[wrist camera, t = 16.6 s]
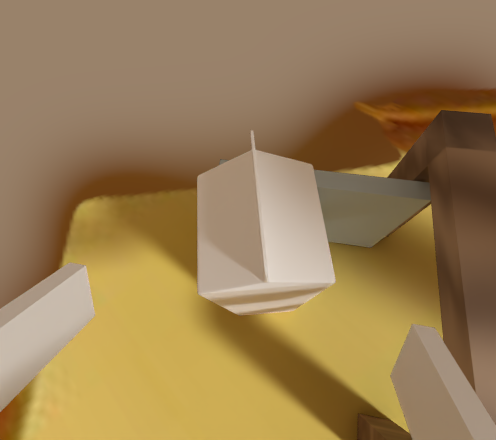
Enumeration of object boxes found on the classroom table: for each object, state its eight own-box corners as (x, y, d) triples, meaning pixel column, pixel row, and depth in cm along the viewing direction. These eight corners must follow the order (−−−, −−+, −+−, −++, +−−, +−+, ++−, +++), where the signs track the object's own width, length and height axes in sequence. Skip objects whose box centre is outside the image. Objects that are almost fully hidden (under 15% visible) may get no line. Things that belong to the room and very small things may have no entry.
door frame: (361, 209, 32) (441, 110, 18) (387, 213, 32) (490, 114, 17) (357, 453, 24) (507, 656, 9) (392, 461, 23) (610, 688, 9)
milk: (286, 257, 31) (329, 115, 11) (293, 312, 29) (367, 266, 8) (234, 261, 31) (177, 130, 11) (237, 317, 29) (173, 283, 8)
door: (370, 221, 32) (427, 163, 20) (370, 247, 30) (431, 200, 19) (238, 204, 33) (224, 142, 22) (233, 228, 32) (216, 175, 21)
